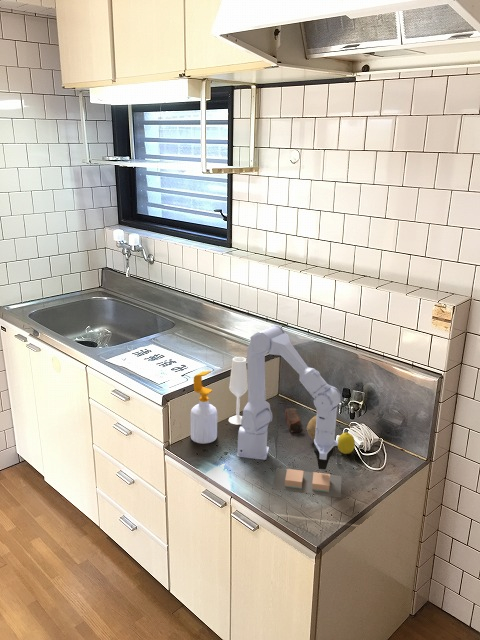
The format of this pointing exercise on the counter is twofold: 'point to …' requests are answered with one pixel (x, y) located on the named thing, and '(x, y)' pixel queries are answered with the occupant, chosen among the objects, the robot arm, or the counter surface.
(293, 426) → the brick
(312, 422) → the brown round lump
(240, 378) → the champagne flute
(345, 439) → the lemon
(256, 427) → the robot arm
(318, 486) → the tile right
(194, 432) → the soap bottle
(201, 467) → the counter surface
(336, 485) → the mat
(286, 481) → the tile left
